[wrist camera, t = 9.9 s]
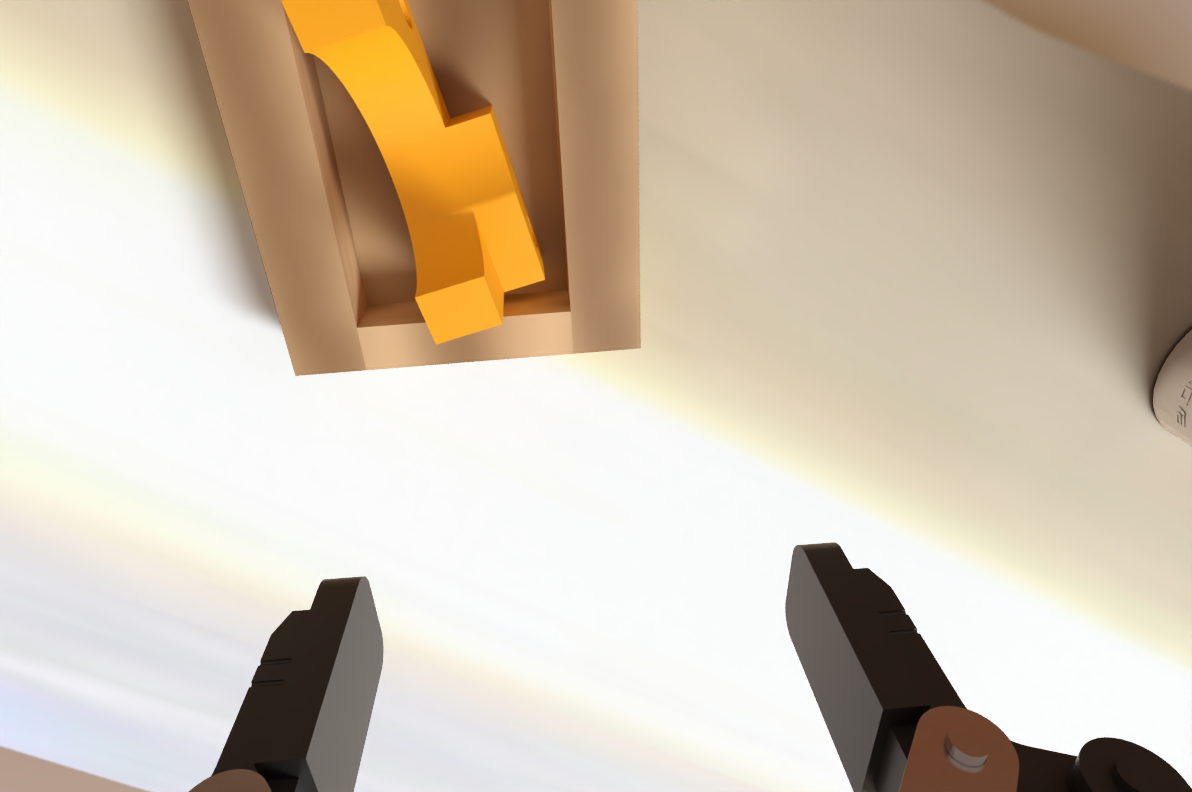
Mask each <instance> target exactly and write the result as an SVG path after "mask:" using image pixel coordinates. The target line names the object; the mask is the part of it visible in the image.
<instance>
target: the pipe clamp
mask: <svg viewBox="0 0 1192 792" xmlns="http://www.w3.org/2000/svg"><path fill="white" fill-rule="evenodd" d="M281 2H282V4H283V6H284V9H285V11H286V13H287V15H288V18H289V20H290V22H291V24H292V26H293V29H294V31H295V33H296V35H297V37H298V40H299V42H300V44H301V46H302V49H303V51H304V53H310V54H314V55H315V56H317V57H319V58H320V59H321V60H322V61H323V62H325V63H326V64H327V65H328V66H329V67H330V68H331V70H332V71H333V72H334V73H335V74H336V76H337V77H338V78H339V79H340V81H341V82H342V83H343V85H344V86H345V88H346V89H347V91H348V92H349V94H350V95H351V97H352V98H353V100H354V102H355V103H356V105H357V107H358V108H359V110H360V112H361V114H362V115H363V117H364V119H365V121H366V123H367V125H368V126H369V128H370V130H371V132H372V134H373V136H374V138H375V141H376V143H377V145H378V147H379V149H380V151H381V153H382V156H383V158H384V160H385V163H386V165H387V167H388V170H389V172H390V175H391V177H392V180H393V183H394V185H395V188H396V191H397V193H398V196H399V199H400V202H401V205H402V208H403V211H404V215H405V218H406V221H407V225H408V229H409V233H410V237H411V241H412V245H413V251H414V256H415V263H416V272H417V289H416V295H415V299H416V302H417V304H418V306H419V308H420V310H421V313H422V315H423V317H424V319H425V321H426V324H427V326H428V328H429V330H430V333H431V335H432V337H433V339H434V341H435V344H436V345H437V344H440V343H443V342H446V341H450V340H453V339H456V338H459V337H463V336H466V335H469V334H472V333H476V332H479V331H482V330H485V329H489V328H492V327H495V326H499V325H502V324H503V304H504V292H507V291H510V290H513V289H517V288H520V287H523V286H526V285H530V284H533V283H536V282H539V281H542V280H545V273H544V263H543V254H542V251H541V248H540V245H539V242H538V239H537V236H536V233H535V230H534V227H533V225H532V222H531V219H530V216H529V213H528V210H527V207H526V204H525V201H524V198H523V195H522V192H521V189H520V186H519V183H518V180H517V177H516V174H515V171H514V168H513V165H512V162H511V159H510V156H509V153H508V150H507V147H506V144H505V142H504V139H503V136H502V133H501V130H500V127H499V124H498V121H497V118H496V115H495V112H494V109H493V106H492V105H491V106H488V107H485V108H481V109H478V110H475V111H472V112H469V113H466V114H463V115H460V116H457V117H454V118H450V115H449V113H448V110H447V107H446V105H445V102H444V99H443V97H442V94H441V91H440V88H439V86H438V83H437V80H436V78H435V75H434V72H433V69H432V67H431V64H430V61H429V59H428V56H427V53H426V51H425V48H424V45H423V42H422V40H421V37H420V34H419V32H418V29H417V26H416V23H415V21H414V18H413V15H412V13H411V10H410V7H409V4H408V2H407V0H281Z"/></svg>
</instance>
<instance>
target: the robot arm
mask: <svg viewBox="0 0 1192 792" xmlns="http://www.w3.org/2000/svg"><path fill="white" fill-rule="evenodd" d="M1153 407H1154V411H1155V415H1156V417H1157V419H1158V420H1159V422H1160V424H1161V425H1162V426H1163V427H1164V428H1165V429H1167V430H1168V431H1169V432H1171V433H1172V434H1174V435H1175V436H1177V437H1178V438H1180V439H1181V440H1183V441H1184V442H1186V443H1187V444H1189V445H1190V446H1192V329H1191V330H1190V331H1189V332H1188V333H1187V334H1186V336H1185V337H1184V338H1183V339H1182V340H1181V341H1180V342H1179V343H1178V344H1177V345H1176V347H1175V348H1174V349H1173V351H1172V352H1171V354H1170V355H1169V356H1168V358H1167V359H1166V361H1165V363H1164V365H1163V367H1162V369H1161V371H1160V373H1159V374H1158V377H1157V381H1156V384H1155V388H1154V394H1153ZM785 609H786V620H787V626H788V630H789V634H790V637H791V639H792V642H793V644H794V647H795V649H796V652H797V654H798V657H799V659H800V661H801V664H802V666H803V669H804V671H805V674H806V676H807V679H808V681H809V683H810V686H811V688H812V691H813V693H814V696H815V698H816V701H817V703H818V705H819V708H820V710H821V713H822V715H823V718H824V720H825V723H826V725H827V727H828V730H829V732H830V735H831V737H832V740H833V742H834V745H835V747H836V749H837V752H838V754H839V757H840V759H841V762H842V764H843V767H844V769H845V771H846V774H847V776H848V779H849V781H850V784H851V786H852V789H853V791H854V792H1192V789H1191V787H1190V786H1189V785H1188V784H1187V782H1186V781H1185V780H1184V779H1183V778H1182V776H1181V775H1180V774H1179V773H1178V772H1177V771H1176V770H1175V769H1174V768H1173V767H1172V766H1171V765H1170V764H1168V763H1167V762H1166V761H1164V760H1163V759H1162V758H1160V757H1159V756H1157V755H1156V754H1154V753H1153V752H1151V751H1149V750H1147V749H1145V748H1143V747H1142V746H1139V745H1137V744H1134V743H1132V742H1129V741H1125V740H1122V739H1116V738H1105V737H1104V738H1097V739H1094V740H1091V741H1089V742H1087V743H1086V744H1085V745H1084V746H1083V747H1082V749H1081V751H1080V753H1079V755H1078V757H1077V756H1072V755H1067V754H1063V753H1058V752H1053V751H1048V750H1043V749H1038V748H1034V747H1029V746H1025V745H1021V744H1018V743H1015V742H1012V741H1010V740H1009V738H1008V737H1007V736H1006V735H1005V733H1004V732H1003V731H1002V730H1001V729H999V728H998V727H997V726H996V725H995V724H994V723H992V722H991V721H990V720H988V719H987V718H985V717H983V716H982V715H980V714H978V713H975V712H973V711H971V710H968V709H967V708H966V707H965V706H964V704H963V703H962V701H961V700H960V698H959V696H958V695H957V693H956V691H955V690H954V688H953V687H952V685H951V683H950V682H949V680H948V679H947V677H946V675H945V674H944V672H943V670H942V669H941V667H940V666H939V664H938V662H937V661H936V659H935V658H934V656H933V654H932V653H931V651H930V649H929V648H928V646H927V645H926V643H925V641H924V640H923V638H922V636H921V635H920V634H918V633H917V628H916V627H915V625H914V624H913V622H912V620H911V619H910V617H909V615H906V613H905V609H904V607H903V606H902V604H901V603H900V601H899V599H898V598H897V596H896V594H895V593H894V591H893V590H892V588H891V587H890V586H889V585H888V584H887V583H885V582H884V581H883V580H882V579H881V578H879V577H878V576H877V575H876V574H874V573H873V572H872V571H871V570H870V569H868V568H863V569H853V568H852V566H851V564H850V563H849V561H848V559H847V557H846V556H845V554H844V552H843V550H842V549H841V547H840V546H839V545H838V544H837V543H822V544H808V545H797V546H796V547H795V548H794V550H793V555H792V562H791V569H790V576H789V583H788V590H787V597H786V607H785ZM382 663H383V638H382V632H381V628H380V624H379V620H378V616H377V612H376V608H375V604H374V600H373V596H372V592H371V588H370V584H369V581H368V579H367V578H366V577H352V578H338V579H325V580H323V581H322V582H321V583H320V585H319V588H318V590H317V593H316V596H315V598H314V601H313V604H312V606H311V609H310V610H302V611H292V612H291V614H290V615H289V616H288V617H287V618H286V619H285V620H284V621H283V622H282V623H281V625H280V626H279V627H278V628H277V629H276V630H275V631H274V632H273V633H272V635H271V637H270V639H269V641H268V644H267V646H266V649H265V651H264V653H263V656H262V658H261V664H260V666H258V668H257V670H256V673H255V675H254V677H253V680H252V686H251V687H249V689H248V692H247V694H246V696H245V699H244V701H243V704H242V706H241V708H240V711H239V713H238V715H237V718H236V720H235V723H234V725H233V727H232V730H231V732H230V735H229V737H228V739H227V742H226V744H225V747H224V749H223V751H222V754H221V756H220V758H219V761H218V763H217V766H216V768H215V770H214V772H213V774H212V776H211V777H209V778H207V779H206V780H204V781H202V782H201V783H199V784H198V785H196V786H195V787H194V788H193V789H191V790H190V791H189V792H354V787H355V783H356V779H357V774H358V770H359V766H360V761H361V757H362V752H363V748H364V744H365V739H366V735H367V731H368V726H369V722H370V718H371V713H372V709H373V705H374V700H375V696H376V692H377V687H378V683H379V679H380V674H381V670H382Z"/></svg>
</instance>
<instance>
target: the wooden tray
mask: <svg viewBox="0 0 1192 792" xmlns="http://www.w3.org/2000/svg"><path fill="white" fill-rule="evenodd" d="M407 2H408V4H409V7H410V10H411V13H412V15H413V18H414V21H415V23H416V26H417V29H418V32H419V34H420V37H421V40H422V42H423V45H424V48H425V51H426V53H427V56H428V59H429V61H430V64H431V67H432V69H433V72H434V75H435V78H436V80H437V83H438V86H439V88H440V91H441V94H442V97H443V99H444V102H445V105H446V107H447V110H448V113H449V115H450V118H454V117H457V116H460V115H463V114H466V113H469V112H472V111H475V110H478V109H481V108H485V107H488V106H491V105H492V106H493V109H494V112H495V115H496V118H497V121H498V124H499V127H500V130H501V133H502V136H503V139H504V142H505V144H506V147H507V150H508V153H509V156H510V159H511V162H512V165H513V168H514V171H515V174H516V177H517V180H518V183H519V186H520V189H521V192H522V195H523V198H524V201H525V204H526V207H527V210H528V213H529V216H530V219H531V222H532V225H533V227H534V230H535V233H536V236H537V239H538V242H539V245H540V248H541V251H542V254H543V263H544V273H545V280H542V281H539V282H536V283H533V284H530V285H526V286H523V287H520V288H517V289H513V290H510V291H507V292H504V304H503V324H502V325H499V326H495V327H492V328H489V329H485V330H482V331H479V332H476V333H472V334H469V335H466V336H463V337H459V338H456V339H453V340H450V341H446V342H443V343H440V344H437V345H436V344H435V341H434V339H433V337H432V335H431V333H430V330H429V328H428V326H427V324H426V321H425V319H424V317H423V315H422V313H421V310H420V308H419V306H418V304H417V302H416V299H415V295H416V289H417V272H416V263H415V256H414V251H413V245H412V241H411V237H410V233H409V229H408V225H407V221H406V218H405V215H404V211H403V208H402V205H401V202H400V199H399V196H398V193H397V191H396V188H395V185H394V183H393V180H392V177H391V175H390V172H389V170H388V167H387V165H386V163H385V160H384V158H383V156H382V153H381V151H380V149H379V147H378V145H377V143H376V141H375V138H374V136H373V134H372V132H371V130H370V128H369V126H368V125H367V123H366V121H365V119H364V117H363V115H362V114H361V112H360V110H359V108H358V107H357V105H356V103H355V102H354V100H353V98H352V97H351V95H350V94H349V92H348V91H347V89H346V88H345V86H344V85H343V83H342V82H341V81H340V79H339V78H338V77H337V76H336V74H335V73H334V72H333V71H332V70H331V68H330V67H329V66H328V65H327V64H326V63H325V62H323V61H322V60H321V59H320V58H319V57H317V56H315V55H314V54H310V53H304V51H303V49H302V46H301V44H300V42H299V40H298V37H297V35H296V33H295V31H294V29H293V26H292V24H291V22H290V20H289V18H288V15H287V13H286V11H285V9H284V6H283V4H282V2H281V0H188V4H189V7H190V10H191V14H192V17H193V21H194V24H195V28H196V31H197V35H198V38H199V42H200V45H201V49H202V52H203V56H204V59H205V63H206V66H207V70H208V73H209V77H210V80H211V83H212V87H213V90H214V94H215V97H216V101H217V104H218V108H219V111H220V115H221V118H222V122H223V125H224V129H225V132H226V136H227V139H228V143H229V146H230V150H231V153H232V156H233V160H234V163H235V167H236V170H237V174H238V177H239V181H240V184H241V188H242V191H243V195H244V198H245V202H246V205H247V209H248V212H249V216H250V219H251V223H252V226H253V229H254V233H255V236H256V240H257V243H258V247H259V250H260V254H261V257H262V261H263V264H264V268H265V271H266V275H267V278H268V282H269V285H270V289H271V292H272V296H273V299H274V302H275V306H276V309H277V313H278V316H279V320H280V323H281V327H282V330H283V334H284V337H285V341H286V344H287V348H288V351H289V355H290V358H291V362H292V365H293V369H294V372H295V375H296V376H299V375H311V374H324V373H336V372H349V371H361V370H374V369H386V368H399V367H411V366H424V365H436V364H449V363H461V362H474V361H486V360H499V359H511V358H524V357H536V356H549V355H561V354H574V353H587V352H599V351H612V350H624V349H637V348H641V339H640V235H639V131H638V27H637V0H407Z"/></svg>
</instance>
